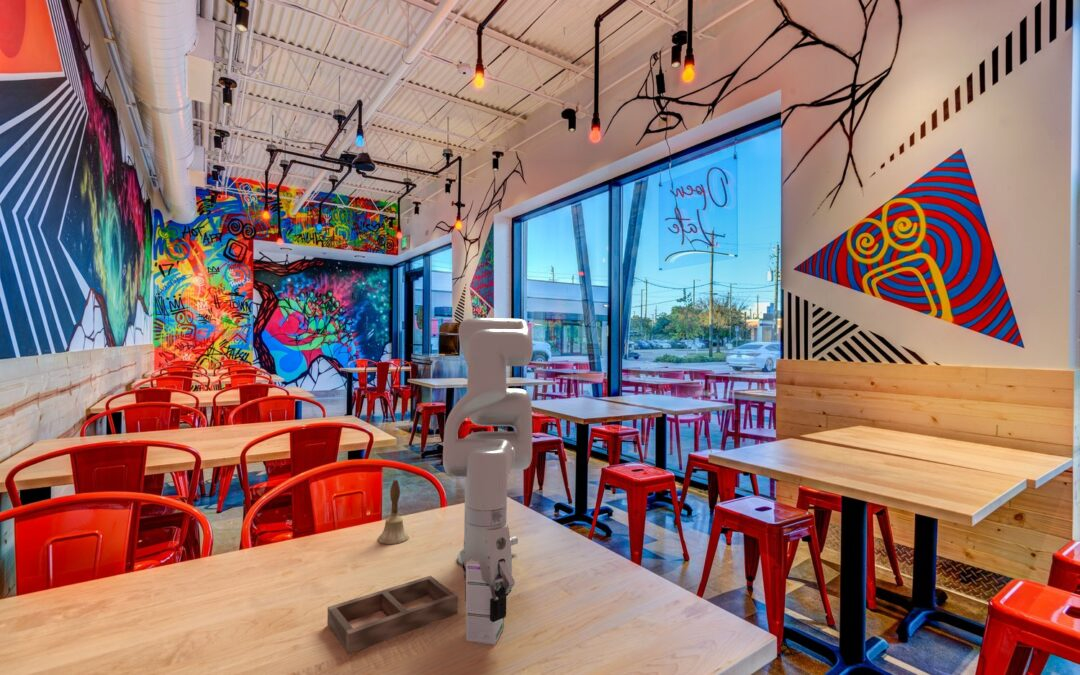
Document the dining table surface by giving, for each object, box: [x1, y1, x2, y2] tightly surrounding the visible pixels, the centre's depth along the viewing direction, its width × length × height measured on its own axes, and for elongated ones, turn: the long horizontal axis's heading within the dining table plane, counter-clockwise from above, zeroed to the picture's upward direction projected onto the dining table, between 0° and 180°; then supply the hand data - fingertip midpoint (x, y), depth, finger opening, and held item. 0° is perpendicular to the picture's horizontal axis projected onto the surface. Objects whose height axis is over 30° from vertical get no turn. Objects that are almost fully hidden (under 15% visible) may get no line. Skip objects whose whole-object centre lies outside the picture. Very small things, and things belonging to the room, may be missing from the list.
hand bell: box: [377, 479, 410, 545], centre depth 142 cm, size 8×8×16 cm
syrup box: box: [465, 559, 505, 646], centre depth 96 cm, size 6×6×14 cm
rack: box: [326, 575, 459, 655], centre depth 101 cm, size 22×11×4 cm, turn 130°
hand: (485, 608), depth 96 cm, fingers closed on syrup box, 7 cm apart
